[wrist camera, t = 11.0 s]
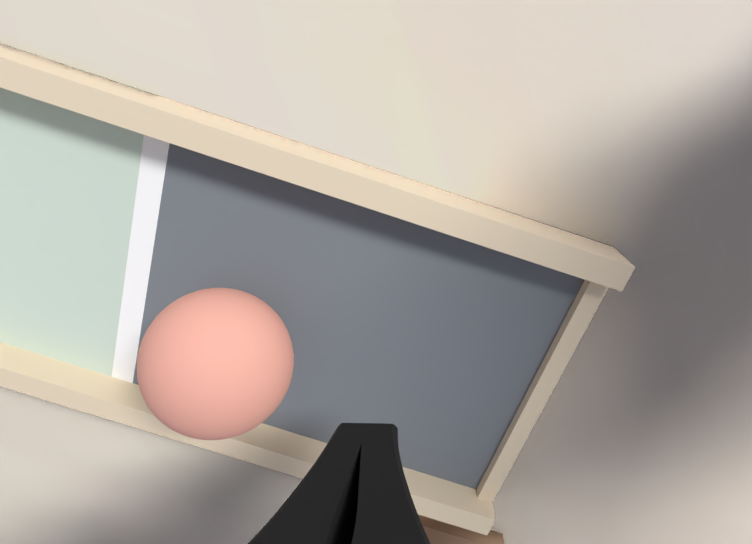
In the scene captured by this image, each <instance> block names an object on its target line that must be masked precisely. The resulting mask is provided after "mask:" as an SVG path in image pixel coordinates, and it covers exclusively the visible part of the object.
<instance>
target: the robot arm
mask: <svg viewBox="0 0 752 544" xmlns="http://www.w3.org/2000/svg"><path fill="white" fill-rule="evenodd" d="M248 544H430V542H429V540H428V537H427V535H426V533H425V530H424V528H423V526H422V523H421V521H420V518H419V516H418V513H417V511H416V508H415V505H414V503H413V500H412V497H411V494H410V491H409V488H408V484H407V481H406V478H405V475H404V471H403V467H402V463H401V459H400V454H399V445H398V428H397V427H396V426H395V425H394V424H385V423H341V424H340V425H339V426H338V427H337V429H336V430H335V432H334V434H333V435H332V437H331V439H330V440H329V442H328V444H327V445H326V447H325V448H324V450H323V451H322V453H321V454H320V456H319V457H318V459H317V460H316V462H315V463H314V465H313V466H312V467H311V469H310V470H309V471H308V473H307V474H306V476H305V477H304V478H303V480H302V481H301V482H300V484H299V485H298V486H297V488H296V489H295V490H294V492H293V493H292V494H291V495H290V497H289V498H288V499H287V500H286V501H285V503H284V504H283V505H282V506H281V508H280V509H279V510H278V511H277V512H276V514H275V515H274V516H273V517H272V518H271V519H270V521H269V522H268V523H267V524H266V525H265V526H264V527H263V528H262V529H261V531H260V532H259V533H258V534H257V535H256V536H255V537H254V538H253V539H252V540H251V541H250V542H249V543H248Z"/></svg>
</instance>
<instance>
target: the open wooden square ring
mask: <svg viewBox="0 0 752 544" xmlns="http://www.w3.org/2000/svg"><path fill="white" fill-rule="evenodd" d="M418 516H419V518H420V521H421V523H422V526H423V528H424V530H425V533H426V535H427V537H428V540H429V542H430V544H504V540H503V534H500V533H497V532H494V531H491V530H490V531H489V533H488V535H484V534H481V533H477V532H474V531H471V530H467V529H464V528H461V527H458V526H454V525H451V524H448V523H445V522H441V521H438V520H435V519H432V518H428V517H425V516H422V515H419V514H418Z"/></svg>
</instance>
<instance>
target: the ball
mask: <svg viewBox="0 0 752 544" xmlns="http://www.w3.org/2000/svg"><path fill="white" fill-rule="evenodd" d="M293 368H294V352H293V346H292V341H291V338H290V335H289V333H288V330H287V328H286V326H285V324H284V323H283V321H282V319H281V318H280V317H279V315H278V314H277V313H276V312H275V311H274V310H273V309H272V308H271V307H270V306H269V305H268V304H267V303H265V302H264V301H262V300H261V299H259V298H257V297H256V296H253V295H251V294H249V293H247V292H244V291H241V290H237V289H231V288H208V289H202V290H198V291H195V292H192V293H189V294H186V295H184V296H182V297H180V298H178V299H177V300H175V301H174V302H172V303H171V304H169V305H168V306H167V307H165V308H164V309H163V310H162V311H161V312H160V313H159V314H158V315H157V316H156V317H155V319H154V320H153V321H152V323H151V324H150V326H149V327H148V328H147V330H146V332H145V334H144V336H143V339H142V341H141V344H140V347H139V351H138V356H137V380H138V384H139V388H140V392H141V394H142V396H143V398H144V401H145V403H146V405H147V406H148V408H149V409H150V410H151V412H152V413H153V414H154V416H155V417H156V418H157V419H158V420H159V421H161V422H162V423H163V424H164V425H166V426H167V427H168V428H170V429H171V430H173V431H175V432H177V433H179V434H182V435H184V436H187V437H190V438H194V439H200V440H222V439H228V438H232V437H236V436H239V435H241V434H244V433H246V432H248V431H250V430H252V429H254V428H255V427H257V426H258V425H260V424H261V423H263V422H264V421H265V420H266V419H267V418H268V417H269V416H270V415H271V414H272V413H273V412H274V411H275V410H276V408H277V407H278V406H279V405H280V403H281V402H282V400H283V398H284V396H285V394H286V393H287V391H288V388H289V385H290V382H291V379H292V374H293Z"/></svg>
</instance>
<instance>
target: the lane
mask: <svg viewBox="0 0 752 544" xmlns="http://www.w3.org/2000/svg"><path fill="white" fill-rule="evenodd" d="M635 268H636V267H635V266H634V265H633V264H631V263H630V262H629V261H628V260H627V259H626V258H625V257H624V256H623V255H622V254H620V253H619V252H618V251H617V250H616V249H615V248H614V247H612V246H609V245H606V244H603V243H600V242H597V241H594V240H591V239H588V238H585V237H582V236H579V235H576V234H573V233H570V232H567V231H563V230H560V229H557V228H554V227H551V226H548V225H545V224H542V223H539V222H536V221H533V220H530V219H527V218H524V217H521V216H518V215H515V214H512V213H509V212H506V211H503V210H500V209H497V208H494V207H491V206H488V205H485V204H482V203H479V202H476V201H473V200H470V199H467V198H464V197H461V196H458V195H455V194H452V193H449V192H446V191H443V190H440V189H437V188H434V187H431V186H428V185H425V184H422V183H419V182H416V181H413V180H410V179H407V178H404V177H401V176H398V175H395V174H392V173H389V172H386V171H383V170H380V169H377V168H374V167H371V166H368V165H365V164H362V163H359V162H356V161H353V160H350V159H347V158H344V157H341V156H338V155H335V154H332V153H329V152H326V151H323V150H320V149H317V148H314V147H311V146H308V145H305V144H302V143H299V142H296V141H293V140H290V139H287V138H284V137H281V136H278V135H275V134H272V133H269V132H266V131H263V130H259V129H256V128H253V127H250V126H247V125H244V124H241V123H238V122H235V121H232V120H229V119H226V118H223V117H220V116H217V115H214V114H211V113H208V112H205V111H202V110H199V109H196V108H193V107H190V106H187V105H184V104H181V103H178V102H175V101H172V100H169V99H166V98H163V97H160V96H157V95H154V94H151V93H148V92H145V91H142V90H139V89H136V88H133V87H130V86H127V85H124V84H121V83H118V82H115V81H112V80H109V79H106V78H103V77H100V76H97V75H94V74H91V73H88V72H85V71H82V70H79V69H76V68H73V67H70V66H67V65H64V64H61V63H58V62H55V61H52V60H49V59H46V58H43V57H40V56H37V55H34V54H31V53H28V52H25V51H22V50H19V49H16V48H13V47H10V46H7V45H4V44H1V43H0V386H1V387H4V388H7V389H11V390H14V391H17V392H20V393H24V394H27V395H30V396H33V397H37V398H40V399H43V400H46V401H50V402H53V403H56V404H59V405H63V406H66V407H69V408H73V409H76V410H79V411H82V412H86V413H89V414H92V415H95V416H99V417H102V418H105V419H108V420H112V421H115V422H118V423H121V424H125V425H128V426H131V427H135V428H138V429H141V430H144V431H148V432H151V433H154V434H157V435H161V436H164V437H167V438H170V439H174V440H177V441H180V442H184V443H187V444H190V445H193V446H197V447H200V448H203V449H206V450H210V451H213V452H216V453H219V454H223V455H226V456H229V457H232V458H236V459H239V460H242V461H246V462H249V463H252V464H255V465H259V466H262V467H265V468H268V469H272V470H275V471H278V472H281V473H285V474H288V475H291V476H294V477H298V478H301V479H303V478H304V477H305V476H306V474H307V473H308V471H309V470H310V469H311V467H312V466H313V465H314V463H315V462H316V460H317V459H318V457H319V456H320V454H321V453H322V451H323V450H324V448H325V447H326V445H327V444H328V442H329V440H330V439H331V437H332V435H333V434H334V432H335V430H336V429H337V427H338V426H339V425H340V424H341V423H385V424H394V425H395V426H396V427H397V428H398V445H399V454H400V459H401V463H402V467H403V471H404V475H405V478H406V481H407V484H408V488H409V491H410V494H411V497H412V500H413V503H414V505H415V508H416V511H417V513H418V514H419V515H422V516H425V517H428V518H432V519H435V520H438V521H441V522H445V523H448V524H451V525H454V526H458V527H461V528H464V529H467V530H471V531H474V532H477V533H481V534H484V535H488V533H489V531H490V530H491V528H492V526H493V524H494V522H495V521H496V519H495V513H494V507H493V501H494V499H495V497H496V496H497V494H498V492H499V490H500V488H501V486H502V485H503V483H504V481H505V479H506V477H507V475H508V473H509V472H510V470H511V468H512V466H513V464H514V462H515V460H516V459H517V457H518V455H519V453H520V451H521V449H522V448H523V446H524V444H525V442H526V440H527V438H528V436H529V435H530V433H531V431H532V429H533V427H534V425H535V423H536V422H537V420H538V418H539V416H540V414H541V412H542V411H543V409H544V407H545V405H546V403H547V401H548V399H549V398H550V396H551V394H552V392H553V390H554V388H555V386H556V385H557V383H558V381H559V379H560V377H561V375H562V374H563V372H564V370H565V368H566V366H567V364H568V362H569V361H570V359H571V357H572V355H573V353H574V351H575V350H576V348H577V346H578V344H579V342H580V340H581V338H582V337H583V335H584V333H585V331H586V329H587V327H588V325H589V324H590V322H591V320H592V318H593V316H594V314H595V313H596V311H597V309H598V307H599V305H600V303H601V301H602V300H603V298H604V296H605V294H606V292H607V290H608V288H612V289H615V290H618V291H621V292H622V291H623V289H624V288H625V286H626V284H627V282H628V280H629V279H630V277H631V275H632V273H633V271H634V270H635ZM208 288H231V289H237V290H241V291H244V292H247V293H249V294H251V295H253V296H256V297H257V298H259V299H261V300H262V301H264V302H265V303H267V304H268V305H269V306H270V307H271V308H272V309H273V310H274V311H275V312H276V313H277V314H278V315H279V317H280V318H281V319H282V321H283V323H284V324H285V326H286V328H287V330H288V333H289V335H290V338H291V341H292V346H293V352H294V368H293V374H292V379H291V382H290V385H289V388H288V391H287V393H286V394H285V396H284V398H283V400H282V402H281V403H280V405H279V406H278V407H277V408H276V410H275V411H274V412H273V413H272V414H271V415H270V416H269V417H268V418H267V419H266V420H265V421H264V422H263V423H261V424H260V425H258V426H257V427H255V428H254V429H252V430H250V431H248V432H246V433H244V434H241V435H239V436H236V437H232V438H228V439H222V440H200V439H194V438H190V437H187V436H184V435H182V434H179V433H177V432H175V431H173V430H171V429H170V428H168V427H167V426H166V425H164V424H163V423H162V422H161V421H159V420H158V419H157V418H156V417H155V416H154V414H153V413H152V412H151V410H150V409H149V408H148V406H147V405H146V403H145V401H144V398H143V396H142V394H141V392H140V388H139V384H138V380H137V356H138V351H139V347H140V344H141V341H142V339H143V336H144V334H145V332H146V330H147V328H148V327H149V326H150V324H151V323H152V321H153V320H154V319H155V317H156V316H157V315H158V314H159V313H160V312H161V311H162V310H163V309H164V308H165V307H167V306H168V305H169V304H171V303H172V302H174V301H175V300H177V299H178V298H180V297H182V296H184V295H186V294H189V293H192V292H195V291H198V290H202V289H208Z"/></svg>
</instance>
